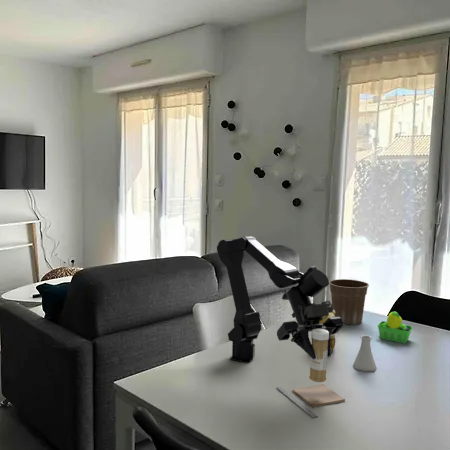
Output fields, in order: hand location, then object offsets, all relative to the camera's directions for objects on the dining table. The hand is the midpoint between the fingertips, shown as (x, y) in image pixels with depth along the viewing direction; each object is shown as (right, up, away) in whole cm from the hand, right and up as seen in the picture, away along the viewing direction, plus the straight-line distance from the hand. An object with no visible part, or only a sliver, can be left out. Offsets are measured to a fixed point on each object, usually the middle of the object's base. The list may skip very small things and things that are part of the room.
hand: (322, 357), depth 127 cm
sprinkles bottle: (-1, -7, +2) cm, 7 cm away
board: (-1, -11, +2) cm, 11 cm away
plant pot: (+26, -6, +75) cm, 80 cm away
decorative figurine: (+8, -8, +39) cm, 41 cm away
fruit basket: (+37, -8, +52) cm, 65 cm away
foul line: (-7, -11, -1) cm, 13 cm away
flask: (+18, -10, +24) cm, 31 cm away
